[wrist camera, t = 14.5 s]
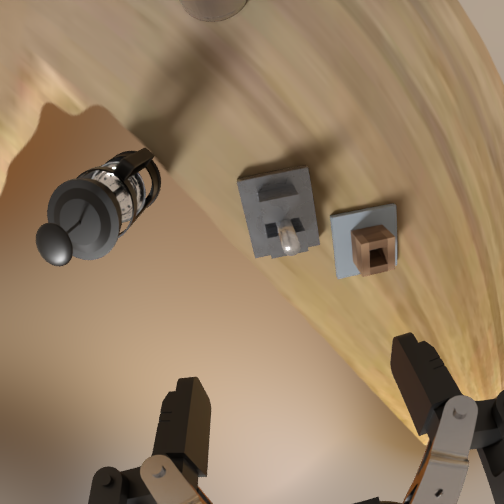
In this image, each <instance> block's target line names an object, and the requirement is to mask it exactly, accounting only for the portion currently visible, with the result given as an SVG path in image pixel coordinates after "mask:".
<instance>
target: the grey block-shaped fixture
mask: <svg viewBox="0 0 504 504" xmlns="http://www.w3.org/2000/svg"><path fill="white" fill-rule="evenodd" d="M237 185H238V189H239V193H240V197H241V201H242V205H243V209H244V214H245V218H246V222H247V226H248V230H249V234H250V238H251V243H252V247H253V251H254V255H255V258H259V257H263V256H268V255H271V257H272V258H277V257H282V256H287V255H289V256H293V255H296V254H297V253H301V252H306V251H308V247H311V246H316V245H320V241H319V234H318V227H317V220H316V213H315V207H314V200H313V194H312V188H311V182H310V176H309V170H308V167H307V166H306V165H302V166H297V167H292V168H286V169H281V170H276V171H271V172H267V173H262V174H257V175H252V176H248V177H243V178H239V179H237Z"/></svg>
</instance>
